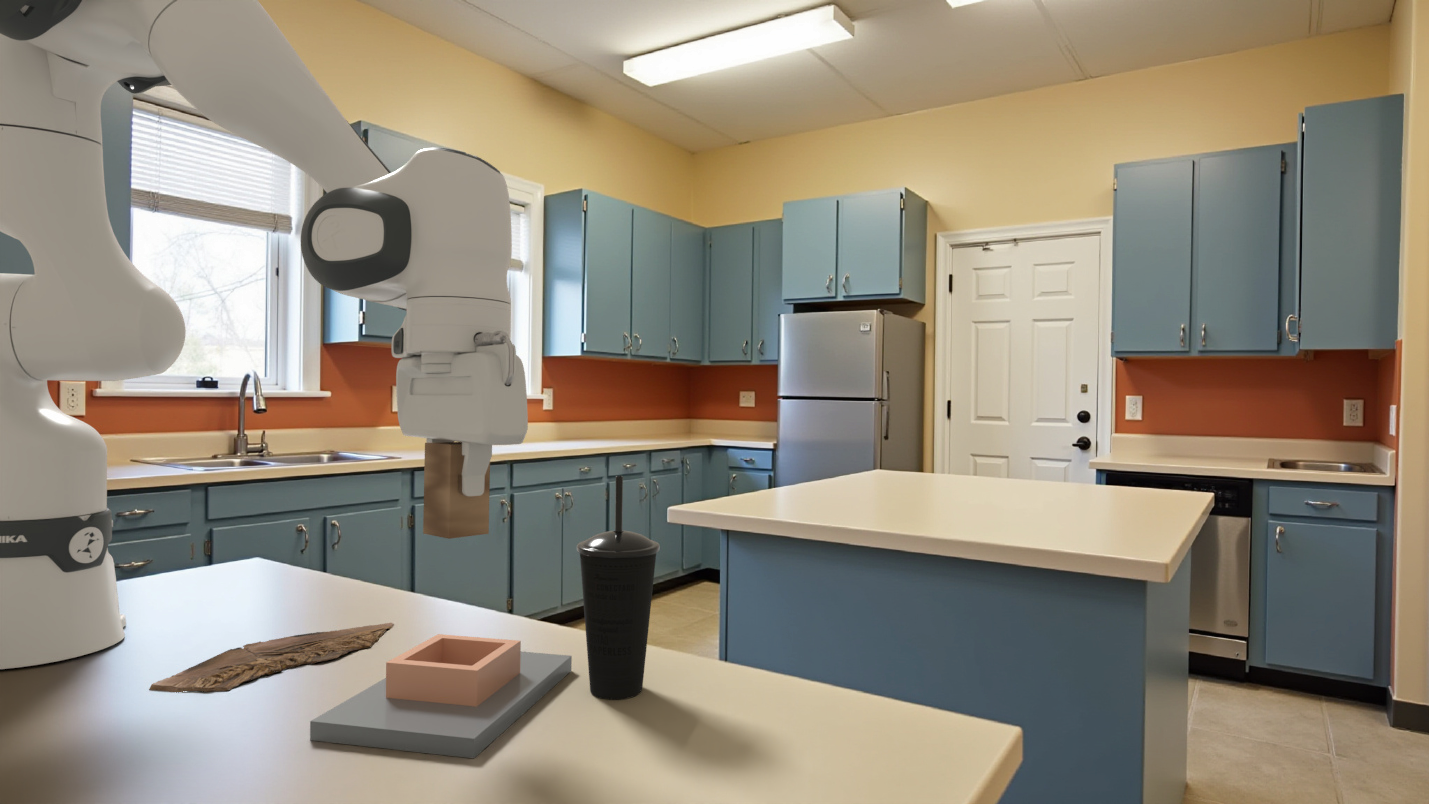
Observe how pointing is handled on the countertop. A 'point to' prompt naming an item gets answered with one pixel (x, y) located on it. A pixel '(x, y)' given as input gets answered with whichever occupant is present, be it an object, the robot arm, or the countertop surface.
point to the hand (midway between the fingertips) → (457, 492)
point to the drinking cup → (617, 605)
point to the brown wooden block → (451, 495)
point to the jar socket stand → (445, 697)
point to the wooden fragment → (269, 658)
